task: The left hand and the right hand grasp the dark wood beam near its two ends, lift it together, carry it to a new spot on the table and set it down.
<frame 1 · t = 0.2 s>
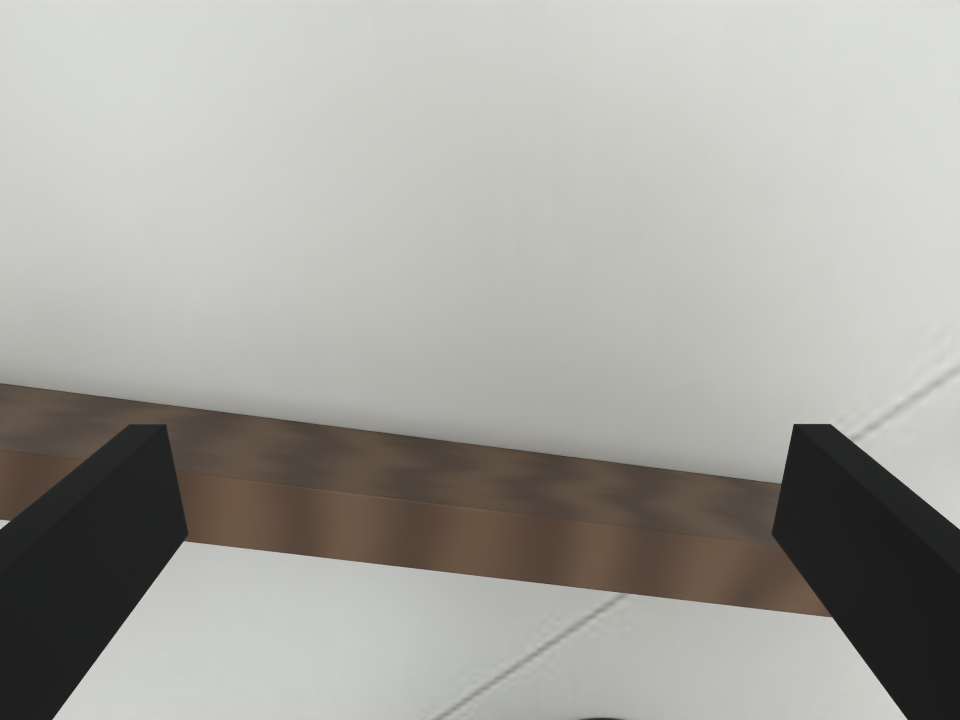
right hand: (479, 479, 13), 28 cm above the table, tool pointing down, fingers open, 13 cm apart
beam: (422, 467, 44), on the table
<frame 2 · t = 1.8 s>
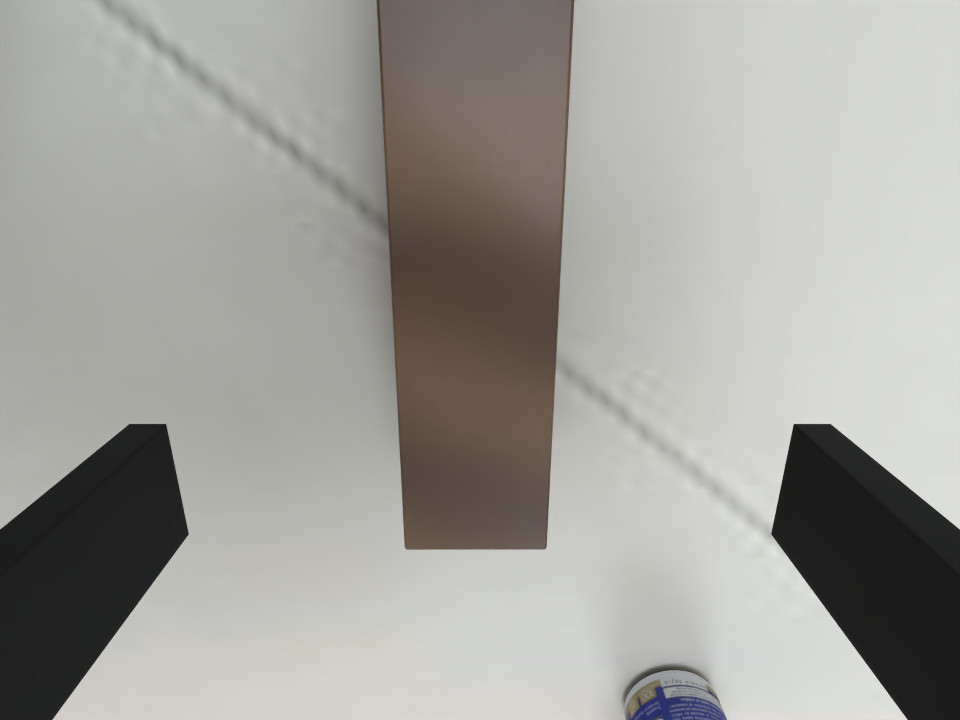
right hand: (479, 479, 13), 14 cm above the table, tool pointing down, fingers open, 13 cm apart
pill bottle: (667, 698, 34), on the table
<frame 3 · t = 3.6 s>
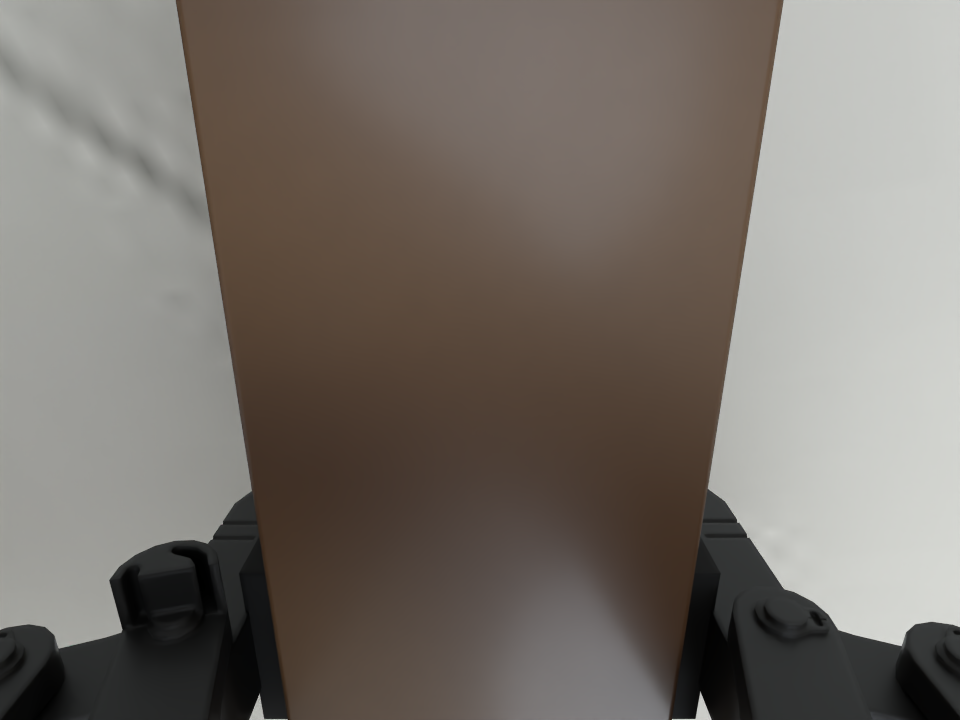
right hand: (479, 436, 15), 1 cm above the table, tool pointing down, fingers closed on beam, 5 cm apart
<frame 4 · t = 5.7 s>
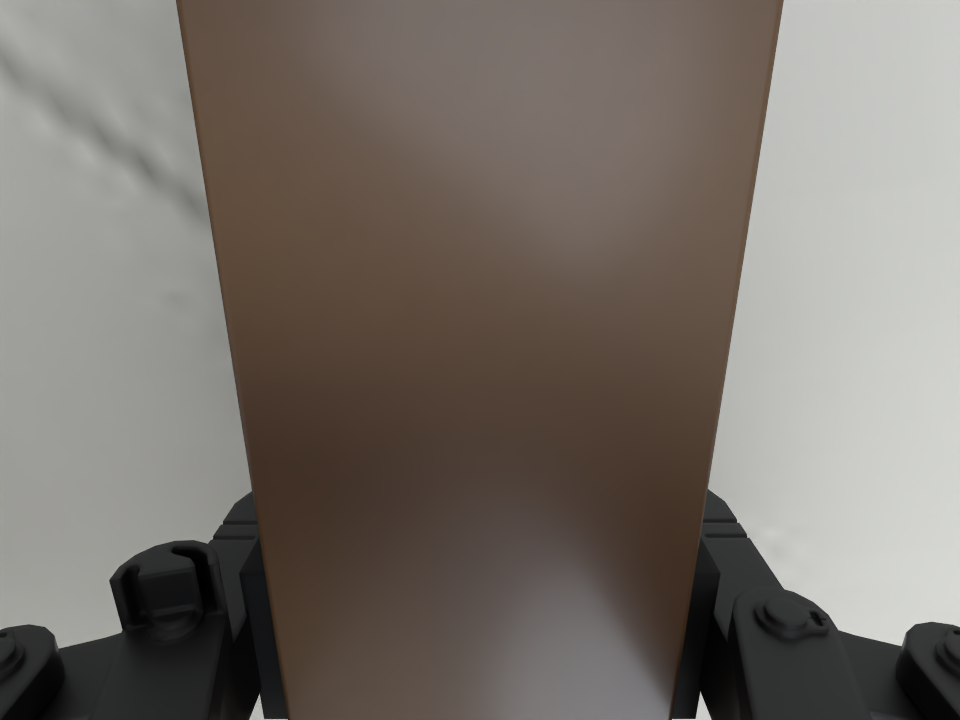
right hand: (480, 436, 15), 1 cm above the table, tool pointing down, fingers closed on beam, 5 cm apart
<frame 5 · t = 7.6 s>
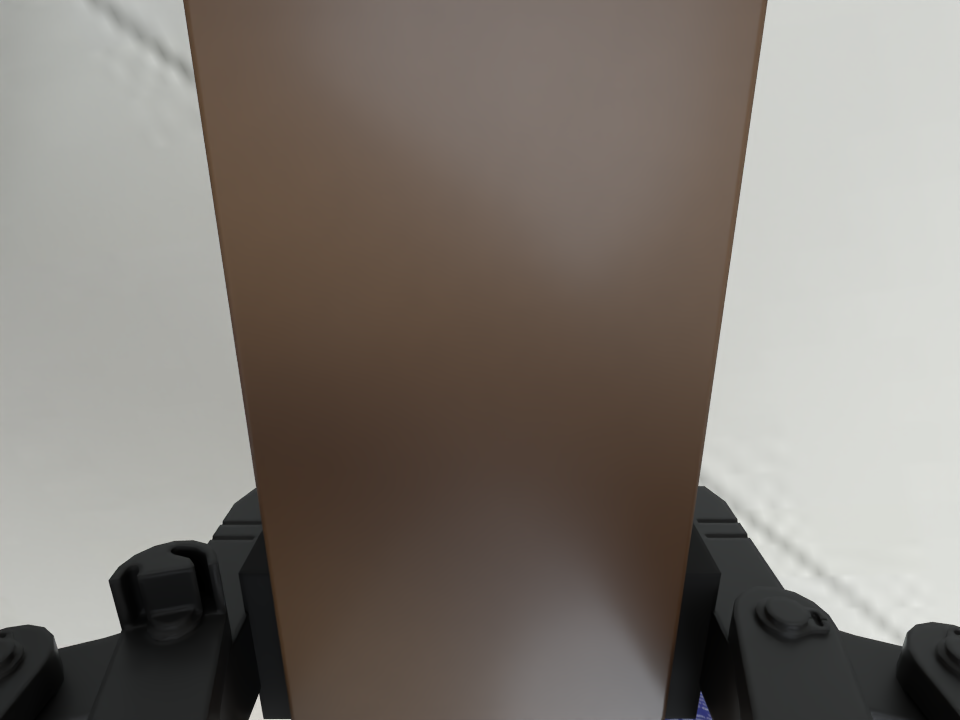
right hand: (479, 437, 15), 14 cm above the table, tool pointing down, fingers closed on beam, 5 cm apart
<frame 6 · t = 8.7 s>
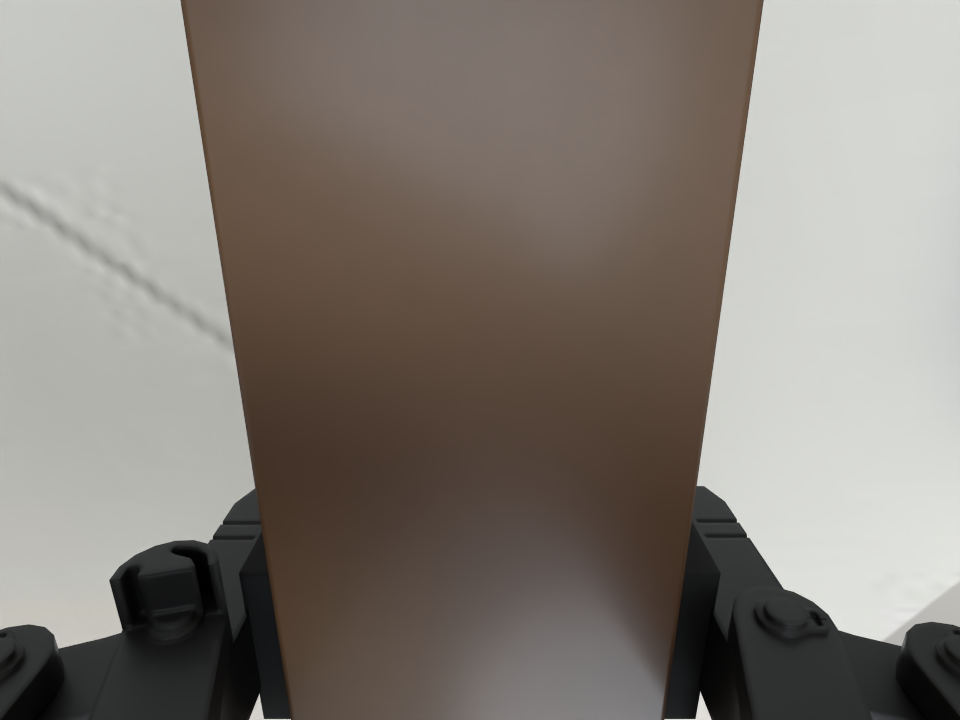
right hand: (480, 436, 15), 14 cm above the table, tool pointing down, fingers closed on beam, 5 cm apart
when the right hand's fingers open (2 cm above the table, at t = 11.6 s): beam drops 1 cm, on the table.
when the left hand's fingers open (5 cm above the table, at t = 11.8 s): beam stays where it is, on the table.
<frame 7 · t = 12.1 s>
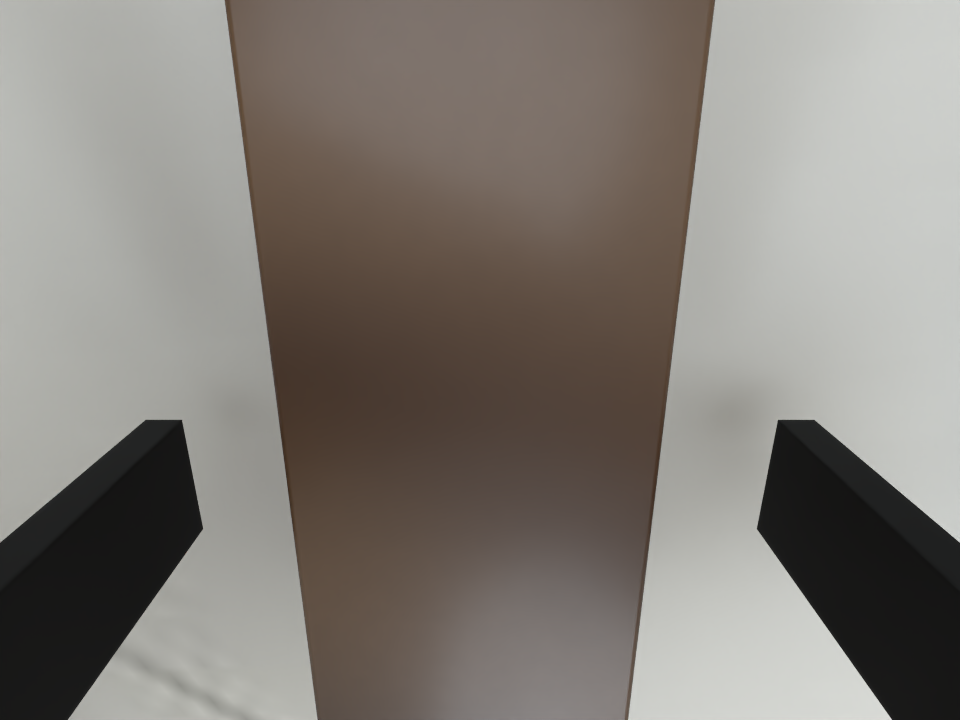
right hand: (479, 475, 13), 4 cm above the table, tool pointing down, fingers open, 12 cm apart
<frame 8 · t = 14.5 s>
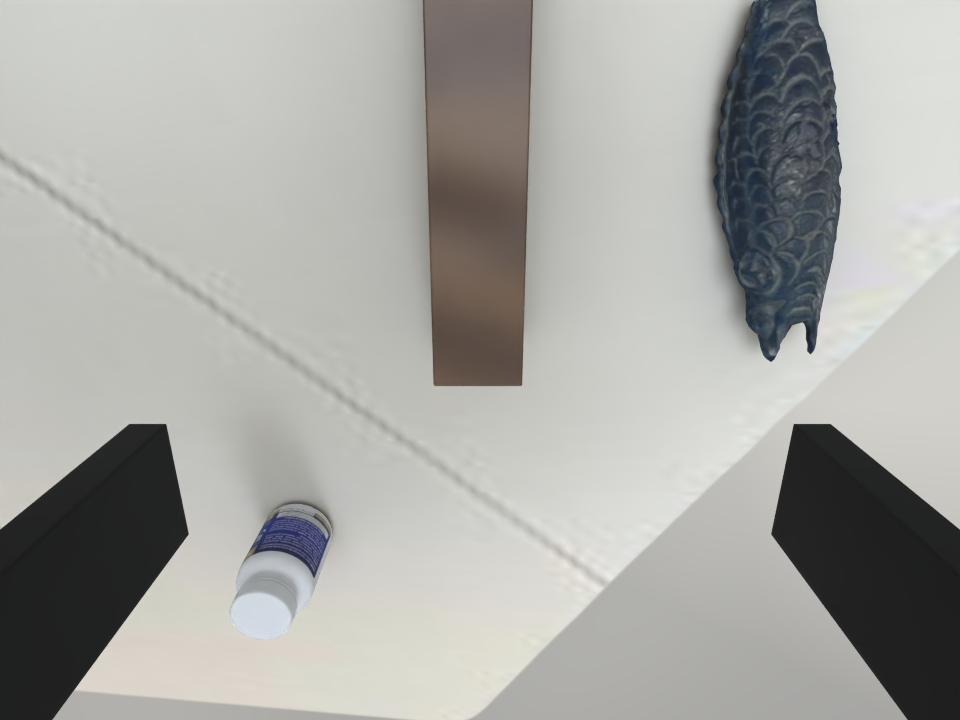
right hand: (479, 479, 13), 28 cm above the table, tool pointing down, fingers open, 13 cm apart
fish model: (766, 185, 38), on the table
pill bottle: (300, 528, 47), on the table
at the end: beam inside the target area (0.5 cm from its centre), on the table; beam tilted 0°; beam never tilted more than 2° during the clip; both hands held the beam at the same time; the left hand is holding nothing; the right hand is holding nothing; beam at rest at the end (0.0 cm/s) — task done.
